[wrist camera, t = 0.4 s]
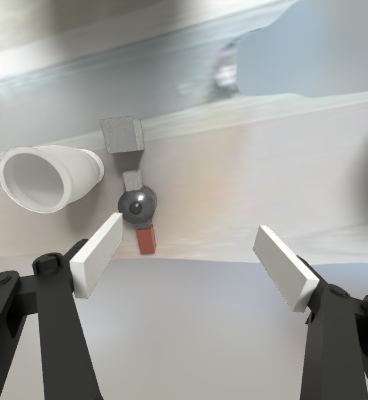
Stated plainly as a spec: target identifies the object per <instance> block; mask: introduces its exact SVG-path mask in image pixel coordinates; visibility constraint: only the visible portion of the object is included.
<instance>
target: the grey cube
mask: <svg viewBox="0 0 368 400" xmlns="http://www.w3.org/2000/svg"><path fill="white" fill-rule="evenodd" d="M100 123H101V127H102V131H103V136H104V140H105V144H106V149H107V153H118V152H129V151H139V150H143V149H145V148H144V141H143V135H142V129H141V123H140V120H139V119H137V118H135V117H133V116H130V117H120V118H110V119H100Z"/></svg>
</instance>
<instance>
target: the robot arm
mask: <svg viewBox="0 0 368 400" xmlns="http://www.w3.org/2000/svg"><path fill="white" fill-rule="evenodd" d="M122 239H123V223H122V213H113V214H112V215H111V216H110V218H109V219H108V220H107V221H106V222H105V223H104V224H103V225H102V226H101V227H100V229H99V230H98V231H97V232H96V233H95V234H94V235H93V236H92V237H91V238H90V239H82V240H81V241H79V242H77V243H76V244H75V245H74V246H73V247H72V248H71V249H70V250H69V252H67V253H66V254H65V255H64V256H62V255H61V254H60V253H48V254H45V255H42V256H40V257H38V258H37V259H36V260H35V261H34V262H33V264H32V266H33V270H34V275H31V276H25V277H20V276H19V273H18V272H17V271H5V272H2V273H0V396H1V393H2V390H3V387H4V383H5V381H6V378H7V375H8V371H9V369H10V366H11V363H12V360H13V357H14V354H15V350H16V348H17V345H18V342H19V339H20V336H21V333H22V330H23V326H24V324H25V321H26V318H27V315H30V314H35V313H38V320H39V332H40V345H41V358H42V371H43V383H44V396H45V400H104V399H103V397H102V396H101V393H100V390H99V387H98V383H97V379H96V376H95V372H94V369H93V365H92V362H91V359H90V355H89V351H88V348H87V345H86V341H85V338H84V334H83V330H82V327H81V323H80V320H79V316H78V313H77V309H76V306H75V302H74V299H73V295H72V293H73V292H74V294H75V298H87V299H88V297H89V296H90V294H91V292H92V291H93V289H94V287H95V286H96V284H97V282H98V280H99V279H100V277H101V275H102V274H103V272H104V270H105V268H106V266H107V265H108V263H109V262H110V260H111V258H112V256H113V255H114V253H115V251H116V250H117V248H118V246H119V244H120V243H121V241H122ZM253 250H254V252H255V254H256V255H257V257H258V258H259V260H260V261H261V263H262V265H263V266H264V267H265V269H266V271H267V272H268V274H269V276H270V277H271V279H272V280H273V282H274V283H275V285H276V286H277V288H278V290H279V291H280V293H281V294H282V296H283V297H284V299H285V300H286V302H287V304H288V305H289V307H290V308H291V310H292V311H293V312H304V311H305V309H306V307H307V306H308V307H309V308H310V310H311V313H310V315H309V317H308V319H307V321H306V323H305V324H308V332H307V341H306V349H305V359H304V367H303V376H302V385H301V394H300V400H368V392H367V386H366V380H365V374H364V371H365V373H366V376H367V378H368V295H366V296H365V298H364V299H363V300H359V299H356V298H352V297H351V296H350V295H349V294H348V293H347V292H346V291H345V290H343V289H342V288H340V287H338V286H336V285H333V284H328V283H327V282H326V281H325V280H324V279H323V278H322V277H321V276H320V275H319V274H318V273H317V272H316V271H315V270H314V269H313V268H312V267H311V266H309V264H308V263H307V262H306V261H305V260H304V259H302V258H301V257H299V256H298V255H295V254H294V253H293V252H292V251H291V250H290V249H289V248H288V247H287V246H286V245H285V244H284V243H283V242H282V241H281V240H280V239H279V238H278V237H277V236H276V235H275V234H274V233H273V231H272V230H271V229H270V228H269V227H268V226H259V229H258V233H257V236H256V240H255V243H254V247H253Z"/></svg>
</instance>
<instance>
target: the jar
mask: <svg viewBox="0 0 368 400" xmlns="http://www.w3.org/2000/svg"><path fill="white" fill-rule="evenodd" d="M103 176H104V166H103V163H102V161H101V159H100V158H99V157H98V156H97V155H96V154H95V153H93V152H92V151H89V150H86V149H77V148H72V147H67V146H60V145H47V146H41V147H36V148H35V147H15V148H12V149H10V150H8V151H7V152H5V153H4V154H3V155H2V157H1V159H0V183H1V185H2V187H3V189H4V190H5V192H6V193H7V194H8V196H9V197H10V198H11V199H12V200H13V201H15V202H16V203H17V204H18V205H20V206H22V207H23V208H25V209H27V210H30V211H33V212H37V213H52V212H55V211H58V210H60V209H62V208H64V207H65V206H66V205H67V204H69V203H72V202H74V201H76V200H78V199H80V198H82V197H83V196H85V195H86V194H87V193H88V192H89V191H90V190H91V189H92V188H93V187H94V186H95V185H96V184H97V183H99V182H100V181H101V180H102V178H103Z"/></svg>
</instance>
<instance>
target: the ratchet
mask: <svg viewBox="0 0 368 400" xmlns="http://www.w3.org/2000/svg"><path fill="white" fill-rule="evenodd" d="M123 178H124V183H125V187H126V191H127V192H126V193H124V194H123V195H122V196H121V198H120V199H119V202H118V210H119V213H122V217H123V218H124V219H125V220H126V221H128V222H130V223H133V224H136V225H137V230H136V231H137V236H138V241H139V246H140V251H141V254H142V253H154V252H155V249H156V243H155V237H154V231H153V225H152V224H151V217H152V215H153V213H154V210H155V208H156V205H157V197H156V195H155V193H154V192H153V190H151V189H150V188H149V187H147V186H144V185H143V184H142V178H141V173H140V170H131V171H126V172H124V173H123Z"/></svg>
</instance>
